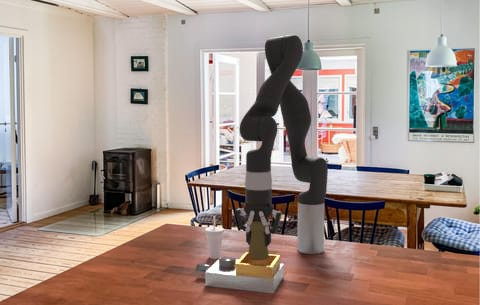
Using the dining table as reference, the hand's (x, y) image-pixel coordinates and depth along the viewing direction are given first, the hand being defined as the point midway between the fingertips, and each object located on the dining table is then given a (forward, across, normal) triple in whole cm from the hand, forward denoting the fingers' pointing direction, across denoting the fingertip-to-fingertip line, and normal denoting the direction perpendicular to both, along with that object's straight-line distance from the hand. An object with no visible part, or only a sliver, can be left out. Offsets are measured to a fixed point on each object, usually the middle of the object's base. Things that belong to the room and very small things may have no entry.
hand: (258, 244), depth 140 cm
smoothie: (+11, +20, -18) cm, 29 cm away
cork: (+4, 0, 0) cm, 4 cm away
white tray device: (+11, +7, 0) cm, 13 cm away
